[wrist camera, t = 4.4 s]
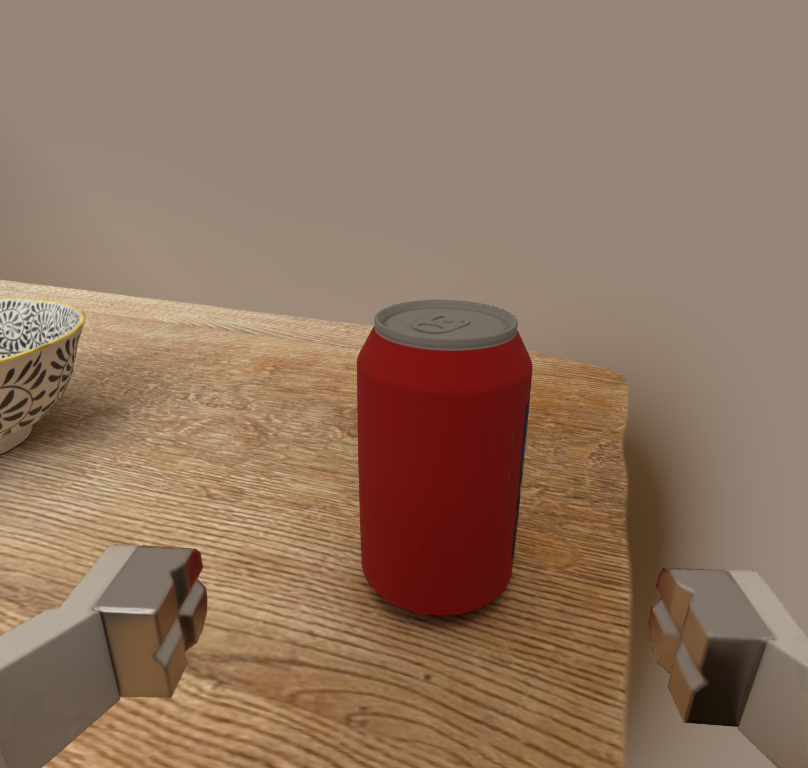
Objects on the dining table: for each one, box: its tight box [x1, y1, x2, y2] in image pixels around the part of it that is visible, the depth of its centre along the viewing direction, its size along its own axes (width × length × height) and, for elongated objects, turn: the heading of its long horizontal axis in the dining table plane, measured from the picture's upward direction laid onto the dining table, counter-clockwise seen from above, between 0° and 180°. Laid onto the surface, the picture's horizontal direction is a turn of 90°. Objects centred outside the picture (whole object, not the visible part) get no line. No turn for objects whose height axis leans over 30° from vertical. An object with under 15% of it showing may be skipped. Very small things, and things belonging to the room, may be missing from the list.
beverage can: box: [357, 300, 532, 615], centre depth 24 cm, size 7×7×12 cm
